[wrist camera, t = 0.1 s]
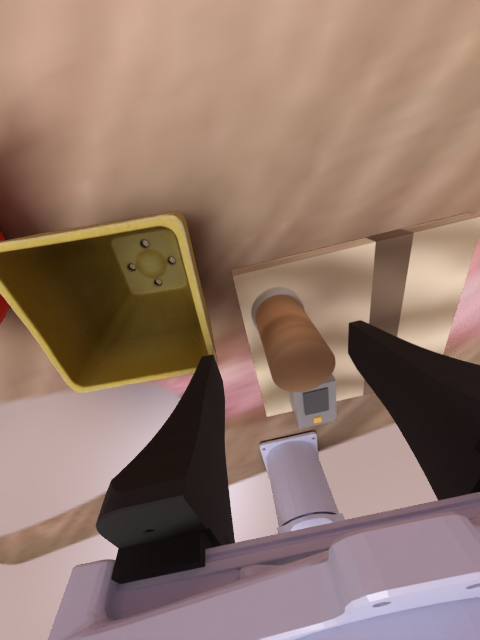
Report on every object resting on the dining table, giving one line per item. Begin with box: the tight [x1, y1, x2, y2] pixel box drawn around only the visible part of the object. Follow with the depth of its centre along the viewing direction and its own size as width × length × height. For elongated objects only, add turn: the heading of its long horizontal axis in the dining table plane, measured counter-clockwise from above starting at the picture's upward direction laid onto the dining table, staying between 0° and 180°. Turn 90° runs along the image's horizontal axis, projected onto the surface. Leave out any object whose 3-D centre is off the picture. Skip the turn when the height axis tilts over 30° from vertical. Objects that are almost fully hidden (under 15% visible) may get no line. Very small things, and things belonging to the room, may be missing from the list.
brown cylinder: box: [251, 287, 336, 392], centre depth 18 cm, size 4×4×8 cm
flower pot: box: [0, 212, 217, 393], centre depth 16 cm, size 9×9×9 cm
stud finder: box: [289, 374, 336, 429], centre depth 25 cm, size 6×4×3 cm, turn 12°
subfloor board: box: [231, 213, 480, 417], centre depth 24 cm, size 18×20×2 cm
